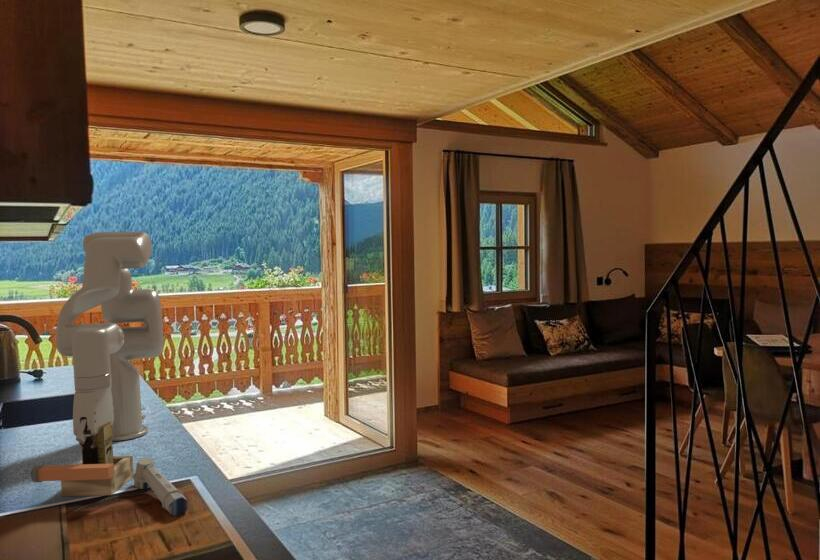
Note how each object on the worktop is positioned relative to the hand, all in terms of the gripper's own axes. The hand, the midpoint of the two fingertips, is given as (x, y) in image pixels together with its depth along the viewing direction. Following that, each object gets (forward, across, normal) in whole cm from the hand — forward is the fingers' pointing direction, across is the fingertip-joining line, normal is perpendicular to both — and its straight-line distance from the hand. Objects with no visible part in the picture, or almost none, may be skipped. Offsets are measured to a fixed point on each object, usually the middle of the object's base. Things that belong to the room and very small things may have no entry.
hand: (97, 459), depth 143 cm
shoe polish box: (+4, 0, 0) cm, 4 cm away
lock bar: (+1, +9, -1) cm, 9 cm away
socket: (+6, 0, 0) cm, 6 cm away
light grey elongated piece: (+7, +8, +17) cm, 20 cm away
